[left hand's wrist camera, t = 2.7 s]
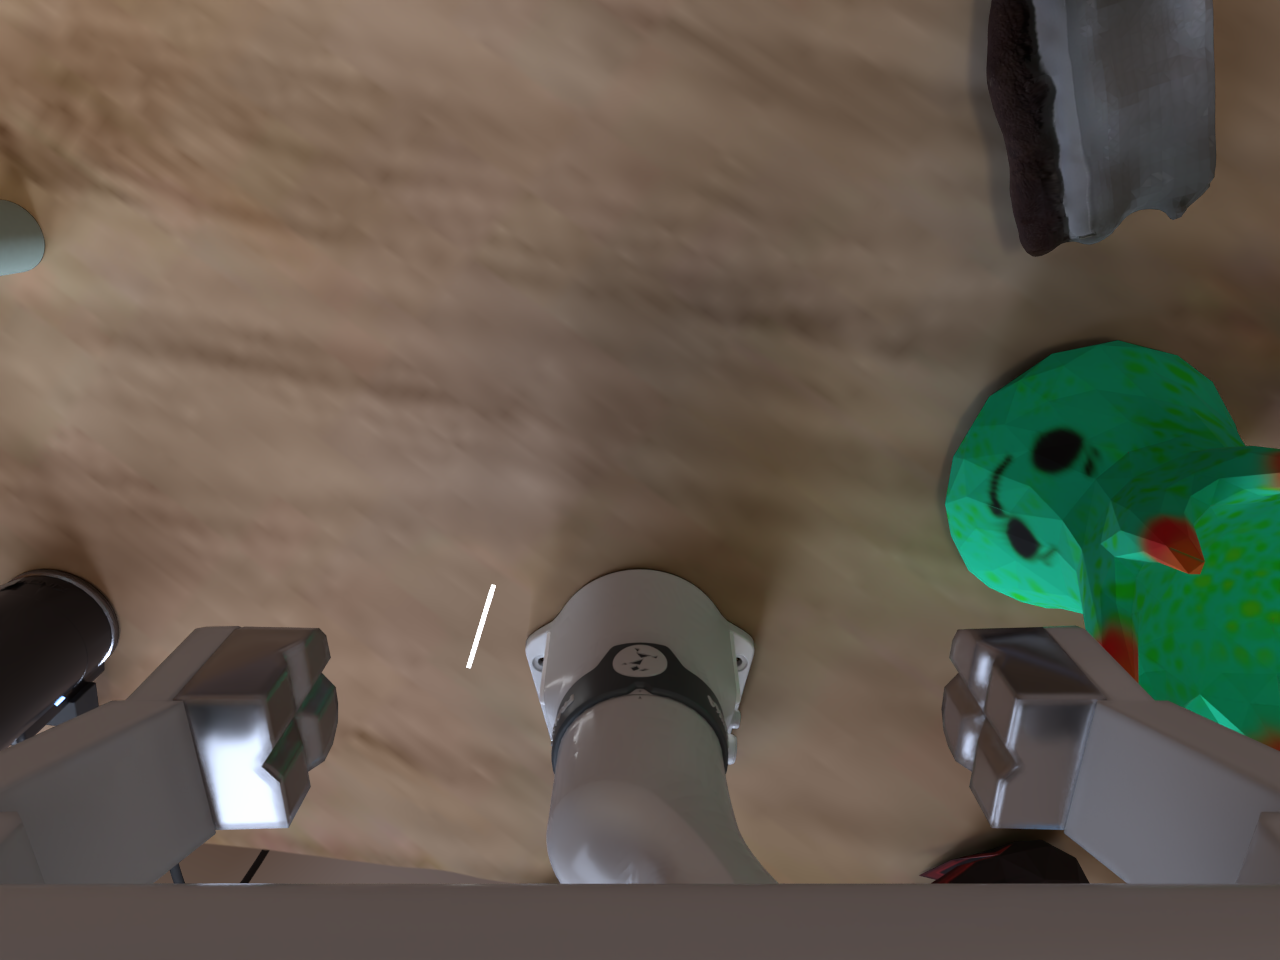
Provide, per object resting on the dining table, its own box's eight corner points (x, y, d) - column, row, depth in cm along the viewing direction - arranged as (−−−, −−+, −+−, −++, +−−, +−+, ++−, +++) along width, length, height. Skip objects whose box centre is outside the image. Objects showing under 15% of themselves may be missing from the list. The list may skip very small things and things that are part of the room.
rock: (946, -43, 48) (1001, -80, 41) (1135, -114, 47) (1227, -165, 40) (994, 254, 55) (1050, 268, 47) (1162, 199, 54) (1245, 205, 46)
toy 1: (961, 1020, 64) (1140, 953, 63) (905, 897, 67) (1075, 831, 66) (940, 977, 75) (1092, 919, 74) (893, 873, 79) (1038, 816, 77)
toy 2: (1000, 310, 56) (1257, 410, 33) (1262, 373, 58) (1684, 512, 34) (901, 563, 63) (1053, 793, 40) (1136, 613, 65) (1414, 861, 42)
